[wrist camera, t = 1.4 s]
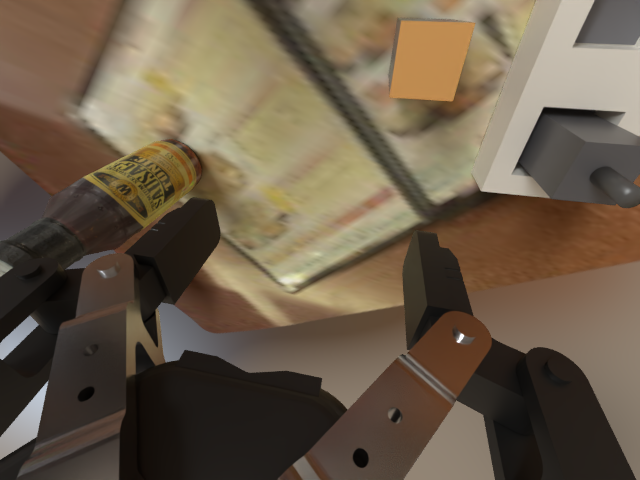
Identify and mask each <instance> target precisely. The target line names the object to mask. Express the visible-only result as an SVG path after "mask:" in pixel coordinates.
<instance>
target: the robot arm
mask: <svg viewBox="0 0 640 480" xmlns="http://www.w3.org/2000/svg"><path fill="white" fill-rule="evenodd" d="M219 240H220V227H219V222H218V218H217V213H216V208H215V204H214V202H213V201H212V200H208V199H201V198H194V197H193V198H191V199H190V200H189V201H187V202H186V203H185V204H184V205H183V206H182V207H181V208H177V209H175V210H173V211H171V212H169V213H167V214H166V215H165V216H164V217H163V218H162V219H161V220H160V221H158V224H157V223H156V224H155V225H154V226H153V227H152V228H151V230H149V231H148V232H147V233H146V234H144V235H143V236H142V237H141V238H140V239H139V240H138V241H137V242H136V243H135V244H134V245H133V246H131V247H130V248H129V249H128V250H127V251H126V252H125V253H124V254H123V253H115V254H109V255H106V256H103V257H100V258H98V259H96V260H95V261H93V262H91V263H90V264H89V265H88V266H87V267H86V268H80V269H67V270H63V269H62V267H61V266H60V264H59V263H58V262H57V261H56V260H55V259H53V258H37V259H32V260H29V261H26V262H23V263H21V264H19V265H17V266H15V267H13V268H12V269H10V270H9V271H8V272H6V273H5V274H4V275H2V276H1V277H0V343H1V342H2V340H3V339H4V338H5V337H6V336H8V335H9V334H10V333H11V332H12V331H13V330H14V329H15V328H16V327H17V326H18V325H19V324H21V323H22V322H23V321H24V320H25V319H26V318H27V317H28V316H29V315H30V316H31V317H32V318H33V319H34V320H35V321H36V322H37V323H38V324H39V325H38V326H37V327H36V328H35V329H34V330H33V331H32V332H31V333H30V334H29V335H28V336H27V337H26V338H25V339H24V340H23V341H22V342H21V343H20V344H19V345H18V346H17V347H16V348H15V349H14V350H13V351H12V352H11V353H9V355H7V356H6V358H4V359H3V360H1V359H0V437H1V435H2V434H3V433H4V432H5V431H6V430H7V428H8V427H9V426H10V425H11V424H12V422H13V421H14V420H15V419H16V418H17V417H18V415H19V414H20V413H21V412H22V411H23V409H24V408H25V407H26V406H27V405H28V403H29V402H30V401H31V400H32V399H33V398H34V396H35V395H36V394H37V393H38V392H39V391H40V389H41V388H42V387H43V386H44V385H45V383H46V382H47V381H48V380H49V381H48V386H47V391H46V395H45V401H44V405H43V411H42V415H41V420H40V425H39V430H38V435H37V437H36V438H35V439H33V440H31V441H30V442H28V443H27V444H25V445H23V446H22V447H20V448H19V449H17V450H15V451H14V452H12V453H10V454H9V455H7V456H6V457H4V458H2V459H1V460H0V480H403V479H404V478H405V476H406V475H407V473H408V472H409V471H410V469H411V468H412V466H413V465H414V463H415V462H416V460H417V458H418V457H419V456H420V454H421V453H422V451H423V450H424V448H425V447H426V445H427V444H428V442H429V440H430V439H431V438H432V436H433V435H434V434H435V432H436V431H437V429H438V427H439V426H440V425H441V423H442V422H443V420H444V419H445V417H446V416H447V414H448V412H449V411H450V410H451V408H452V407H453V405H454V403H455V402H456V400H457V401H459V402H461V403H462V404H464V405H466V406H468V407H470V408H472V409H474V410H475V411H477V412H479V413H481V414H483V415H484V421H485V427H486V432H487V438H488V443H489V449H490V454H491V460H492V465H493V471H494V476H495V480H636V478H635V476H634V474H633V472H632V470H631V468H630V466H629V464H628V462H627V460H626V458H625V456H624V453H623V452H622V449H621V447H620V445H619V443H618V441H617V439H616V437H615V435H614V433H613V431H612V429H611V427H610V425H609V423H608V421H607V418H606V416H605V414H604V412H603V410H602V408H601V406H600V404H599V402H598V400H597V398H596V396H595V394H594V391H593V389H592V387H591V385H590V383H589V381H588V379H587V378H586V376H585V375H584V373H583V372H582V370H581V369H580V368H579V367H578V366H577V365H576V364H575V363H574V362H573V361H571V360H570V359H569V358H567V357H566V356H564V355H563V354H561V353H559V352H557V351H554V350H551V349H548V348H543V347H537V348H533V349H531V350H530V351H529V352H528V353H527V354H525V353H522V352H520V351H518V350H516V349H513V348H511V347H509V346H506V345H504V344H502V343H500V342H498V341H496V340H495V339H493V338H491V335H490V333H489V331H488V329H487V328H486V327H485V325H484V324H483V323H482V322H481V321H479V320H478V319H477V318H475V317H474V316H473V313H472V309H471V306H470V302H469V299H468V295H467V292H466V288H465V285H464V281H463V277H462V274H461V272H460V267H459V263H458V260H457V258H456V257H455V256H454V255H453V253H452V252H451V251H450V250H449V249H448V248H441V247H440V246H439V242H438V237H437V234H436V233H431V232H424V231H418V230H415V231H414V233H413V236H412V239H411V242H410V245H409V248H408V251H407V254H406V257H405V261H404V265H403V292H404V308H405V324H406V341H407V350H410V351H409V352H408V353H407V354H406V355H403V354H402V355H400V356H399V357H398V358H397V359H396V360H395V361H394V362H393V363H392V364H391V365H390V366H389V367H388V368H387V369H386V370H385V371H384V372H383V373H382V374H381V375H380V376H379V377H378V378H377V380H376V381H375V382H374V383H373V384H372V385H371V386H370V387H369V388H368V389H367V390H366V391H365V392H364V393H363V394H362V395H361V396H360V398H359V399H358V400H357V401H356V402H355V403H354V404H353V405H352V406H351V407H350V408H349V409H348V410H347V409H346V407H345V406H344V405H343V404H342V403H341V402H340V401H339V400H337V399H336V398H335V397H334V396H332V395H331V394H330V393H328V392H326V391H324V390H323V389H321V382H322V378H319V377H314V376H309V375H304V374H299V373H295V372H289V371H277V372H260V373H248V372H245V371H243V370H241V369H240V368H238V367H236V366H234V365H232V364H230V363H228V362H226V361H225V360H223V359H221V358H219V357H217V356H212V355H207V354H203V353H198V352H193V351H188V350H185V351H184V353H183V354H182V356H181V357H180V359H179V360H177V361H171V362H167V363H166V362H165V359H164V355H163V348H162V338H161V327H160V316H159V311H158V309H157V307H158V306H159V305H160V303H161V302H163V303H168V304H173V305H175V303H176V302H177V300H178V299H179V298H180V296H181V295H182V293H183V292H184V291H185V289H186V288H187V286H188V285H189V284H190V282H191V281H192V280H193V278H194V277H195V275H196V274H197V273H198V271H199V270H200V268H201V267H202V266H203V264H204V263H205V261H206V260H207V259H208V257H209V256H210V255H211V253H212V252H213V250H214V249H215V248H216V246H217V245H218V243H219Z"/></svg>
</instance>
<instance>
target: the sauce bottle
mask: <svg viewBox="0 0 640 480" xmlns="http://www.w3.org/2000/svg"><path fill="white" fill-rule="evenodd" d="M201 175H202V169H201V165H200V163H199V160H198V158H197V156H196V155H195V153H194V152H192V150H191V149H190V148H188V147H187V146H186V145H184V144H183V143H180V142H179V141H176V140H173V139H167V140H161V141H156V142H153V143H151V144H149V145H147V146H145V147H143V148H141V149H139V150H137V151H135V152H133V153H131V154H129V155H127V156H125V157H123V158H121V159H119V160H117V161H115V162H113V163H111V164H109V165H107V166H105V167H103V168H101V169H99V170H97V171H95V172H93V173H91V174H89V175H87V176H85V177H83V178H81V179H80V180H78V181H77V182H75V183H73V184H72V185H70V186H68V187H67V188H65V189H63V190H62V191H60V192H59V193H57V194H55V195H53V196H52V197H51V198H50V199H49V202H48V204H47V207H46V210H45V212H44V215H43V217H42V218H41V219H40V220H37V221H35V222H33V223H32V225H31V226H29V227H28V228H26V229H24V230H23V231H20V232H19V233H17V234H15V235H13V236H12V237H10V238H8V239H7V240H4V241H0V277H1V276H2V275H4V274H5V273H6V272H8V271H9V270H10V269H12V268H13V267H15V266H17V265H19V264H21V263H23V262H26V261H29V260H32V259H37V258H53V259H55V260H56V261H57V262H58V263H59V264H60V266H61V267H62V269H63V270H65V269H66V268H67V267H69V266H70V265H72V264H73V263H74V262H76V261H79V260H80V259H81V258H83V256H85V255H89V254H93V253H99V252H102V251H107V250H114V249H116V248H118V247H120V246H121V245H122V244H123V243H125V242H126V241H127V240H128V239H129V238H130V237H132V236H133V235H134V234H136V233H138V232H140V231H141V230H143V229H144V228H145V227H146V226H148V225H149V224H150V223H151V222H152V221H154V220H155V219H156V218H157V217H159V216H160V215H161V214H162V213H164V212H165V211H166V210H167V209H168V208H170V207H171V206H172V205H173V204H174V203H176V202H177V201H178V200H179V199H180V198H182V197H183V196H184V195H185V194H187V193H188V192H189V191H190V190H192V189H193V187H194V186H195V185H196V184H197V183H198V182H199V180H200V178H201Z"/></svg>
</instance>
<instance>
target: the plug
mask: <svg viewBox="0 0 640 480" xmlns="http://www.w3.org/2000/svg"><path fill="white" fill-rule="evenodd" d="M474 26H475V23H472V22H465V21H458V20H451V19H418V18H397V23H396V30H395V37H394V43H393V50H392V57H391V63H390V70H389V97H391V98H407V99H423V100H438V101H453V99H454V96H455V92H456V89H457V85H458V82H459V78H460V75H461V71H462V68H463V64H464V61H465V57H466V54H467V50H468V47H469V44H470V40H471V37H472V33H473V30H474Z"/></svg>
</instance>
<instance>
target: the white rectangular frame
mask: <svg viewBox="0 0 640 480" xmlns="http://www.w3.org/2000/svg"><path fill="white" fill-rule="evenodd" d="M639 136H640V0H536V2H535V4H534V7H533V10H532V12H531V15H530V17H529V20H528V23H527V25H526V28H525V31H524V33H523V36H522V39H521V41H520V44H519V46H518V49H517V52H516V54H515V57H514V60H513V62H512V65H511V68H510V70H509V73H508V75H507V78H506V81H505V83H504V86H503V89H502V91H501V94H500V97H499V99H498V102H497V104H496V107H495V110H494V112H493V115H492V118H491V120H490V123H489V126H488V128H487V131H486V133H485V136H484V139H483V141H482V144H481V147H480V149H479V152H478V155H477V157H476V160H475V162H474V165H473V168H472V170H471V173H472V175H473V177H474V179H475V181H476V183H477V184H478V186H479V188H480V190H481V191H484V192H494V193H504V194H514V195H524V196H534V197H544V198H551V199H557V200H567V201H577V202H587V203H597V204H607V205H616V204H618V205H619V206H620V207H622V208H631V207H634V206H637V205H639V204H640V187H638V186H637V185H635V184H634V183H633V182H634V181H635V179H636V178H637V177H638V176H639V174H640V137H639Z"/></svg>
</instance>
